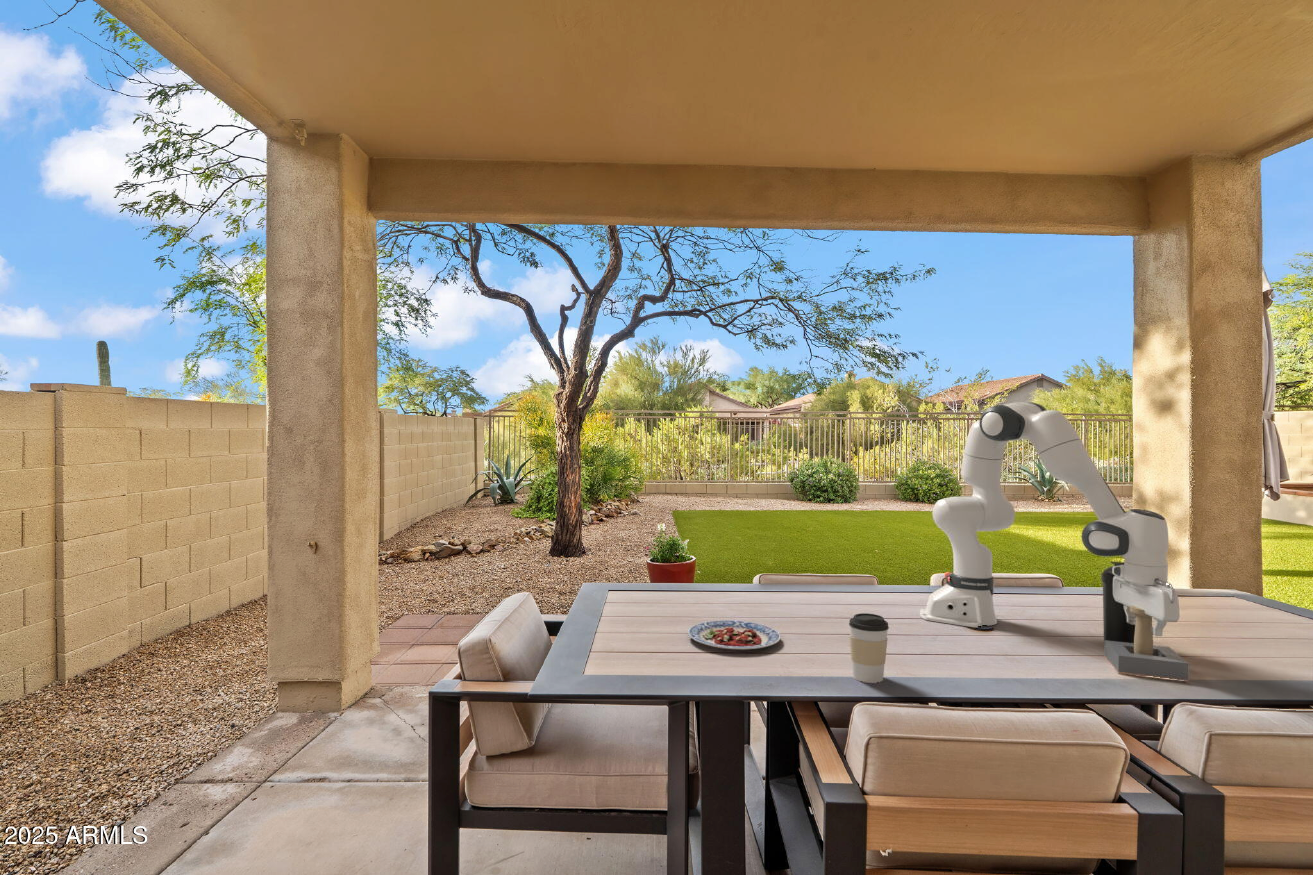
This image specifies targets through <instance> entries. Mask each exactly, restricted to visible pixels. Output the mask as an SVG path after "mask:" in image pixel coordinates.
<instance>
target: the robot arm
mask: <svg viewBox="0 0 1313 875" xmlns="http://www.w3.org/2000/svg"><path fill="white" fill-rule="evenodd" d="M1021 440H1028V442H1030V443H1031V445H1032V446H1033V448H1034V449H1035V452H1036V455H1037V456H1038V458H1039V460H1040V462H1041V463H1042V465H1043V467H1044V468H1045V470H1047V472H1048V473H1049V474H1050V475H1051V477H1052V478H1055V479H1056V480H1059V481H1062V482H1064V483H1066V484H1069V485H1071V486H1072V487H1074V488H1076V489H1077V490H1078V491H1079V492H1080V493H1081V494H1082V495H1083V496H1084V498H1085V499H1086V502H1088V504H1089V506H1090V507H1091V509H1092V511H1093V512H1094V514H1095V516H1096V518H1097V519H1098V520H1097V519H1096V520H1093V521H1091V522H1089V523H1087V524H1086V525H1085V526H1084V527H1083V529H1082V532H1081V542H1082V544H1083V546H1084V547H1085V549H1086V550H1087V551H1088V552H1090V553H1092V554H1093V555H1096V556H1100V557H1104V558H1105V557H1106V558H1107V557H1108V558H1109V557H1116V556H1117V557H1118V556H1119V557H1122V558H1123V559H1124V560H1123V561H1124V562H1123V563H1124V565H1119V566H1114V565H1113V568H1112V573H1113V574H1114V575H1115V576H1114V578H1113V597H1114V599H1115V601H1117V602H1119V603H1121V604H1124V610H1125V613H1126V616H1127V623H1129V624H1132V625H1135V624H1136V616H1135V614H1133V613H1132V612H1130V606H1132V605H1133V606H1135V607H1138V608H1140V609H1143V610H1144V613H1145V614H1147V615H1149V616H1151V617H1152V618H1153V623H1154V625H1153V626H1152V627H1151V634H1153V636H1155V637H1162V636H1163V630H1164V629H1165V627H1166V625H1167V623H1177V622H1178V621H1179V620H1180V613H1181V612H1180V602H1179V601H1180V600H1179V596H1178V594H1177V592H1176V590H1175V588H1174V587H1173V584H1172V583H1170V582H1168V581H1169V580H1168V579H1169V577H1168V575H1169V563H1168V561H1167V560H1168V559H1167V553H1168V550H1169V528H1168V523H1167V520H1166V518H1165V517H1164V516H1163V515H1162V514H1160V513H1158V512H1154V511H1151V510H1147V509H1142V508H1132V509H1129V510H1128V511H1126V510H1125V509H1124V508H1123V506H1122V505H1121V503H1120V501H1118V499H1117V497H1116V496H1115V494H1114V492H1113V491H1112V489H1111V488H1110V486H1109V485H1108V483H1107V482H1106V479H1104V476H1102V474H1101V472H1100V471H1099V470H1098V467H1097V466H1096V465H1095V463H1094V462H1093V459H1092V458H1091V455H1090V454H1089V452H1088V449H1087V448H1086V447H1085V444H1084V443H1083V440H1082V439H1081V437H1080V436H1079V434H1078V432H1077V430H1076V429H1075V428H1074V426H1073V425H1072V423H1071V422H1070V421H1069V420H1068V419H1067V417H1066V416H1065V415H1064V414H1063V413H1062V412H1061V411H1059V410H1056V409H1048V410H1047V408H1045V407H1044V406H1043V405H1041V404H1039V403H1036V402H1033V401H1032V402H1031V401H1026V402H1020V401H1019V402H1010V403H1004V404H996V405H994V406H990V407H988V408H987V409H985V410H984V411H983V412H982V414H981V415H980V417H979V420H976V421H974V422H973V423H972V424H971V426H970V429H969V431H968V434H967V437H966V441H965V443H964V444H965V445H964V450H963V456H962V461H961V468H960V476H961V478H962V480H963V481H964V482H965V483H966V484H967V485H969V486H970V487H972V495H971V496H950V497H944V498H942V499H939V500H937V501H936V502H935V503H934V505H933V508H932V512H931V513H932V520H933V522H934V523H935V525H936V526H937V528H939V529H941V531H942V532H944V533H945V535H946V537H947V538H948V539H949V543H950V545H951V550H952V557H953V559H952V560H953V562H952V563H953V572H949V571H946V572H944V578H945V580H946V581H945V582H946V584H944V585H943V586H942V587H940V588H938V589H937V590H935V591H933V592H931V594H930V595H929V597H928V598H927V603H926V606H925V607H921V608H920V609H919V617H920V618H922V619H923V620H924V621H931V622H937V623H944V624H949V625H956V626H961V627H962V626H963V627H970V628H979V627H978V626H981V625H987V626H988V627H989V626H994V625H997V624H998V619H997V616H996V613H995V607H994V598H993V596H994V592H995V580H994V576H993V553H992V551H991V550H990V548H989V547H987V546H986V545H985V544H982V543H981V542H980V541H979V539H978V538H979V537H978V532H996V531H1001V530H1005V529H1009V528H1010V527H1011V526H1012V525H1014V521H1015V519H1016V511H1015V508H1014V505H1013V504H1012V503H1011V501H1010V500H1008V499H1007V498H1006V496H1005V494H1004V493H1003V490H1002V486H1001V476H1002V475H1001V474H1002V467H1003V460H1004V454H1005V449H1006V445H1007V443H1008V442H1012V441H1013V442H1014V441H1015V442H1016V441H1021ZM987 626H986V627H987ZM981 627H982V626H981Z"/></svg>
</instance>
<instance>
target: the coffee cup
mask: <svg viewBox="0 0 1313 875" xmlns="http://www.w3.org/2000/svg"><path fill="white" fill-rule="evenodd" d="M848 626H849V630H850V631H849V632H850V633H849V641H850V642H849V643H850V658H851V659H850V660H851V665H852V667H851V668H852V677H853V679H854V680H856V681H859V682H861V681H862V682H861V683H866V684H878V683H877V682H879V683H882V682H883V681H884V674H885V665H886V658H887V657H886V656H887V649H888V648H887V647H888V631H889V628H890V627H889V623H888V621H887V620H885V618H884V617H883V616H882V615H880V614H875V613H866V612H865V613H863V612H861V613H856V614H854V615H853V617H851V618H850V619H849V623H848ZM881 681H882V682H881Z"/></svg>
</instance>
